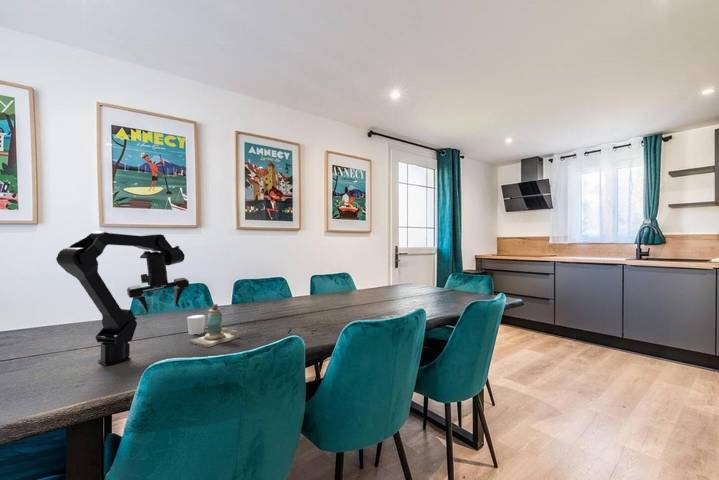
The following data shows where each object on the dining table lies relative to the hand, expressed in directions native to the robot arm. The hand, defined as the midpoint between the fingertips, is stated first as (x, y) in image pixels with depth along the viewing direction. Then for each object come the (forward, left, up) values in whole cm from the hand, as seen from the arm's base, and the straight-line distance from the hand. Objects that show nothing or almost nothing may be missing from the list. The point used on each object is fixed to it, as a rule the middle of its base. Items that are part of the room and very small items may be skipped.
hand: (161, 309), depth 117 cm
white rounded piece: (+15, +3, -13) cm, 20 cm away
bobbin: (+13, -12, -12) cm, 21 cm away
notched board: (+13, -12, -13) cm, 22 cm away
